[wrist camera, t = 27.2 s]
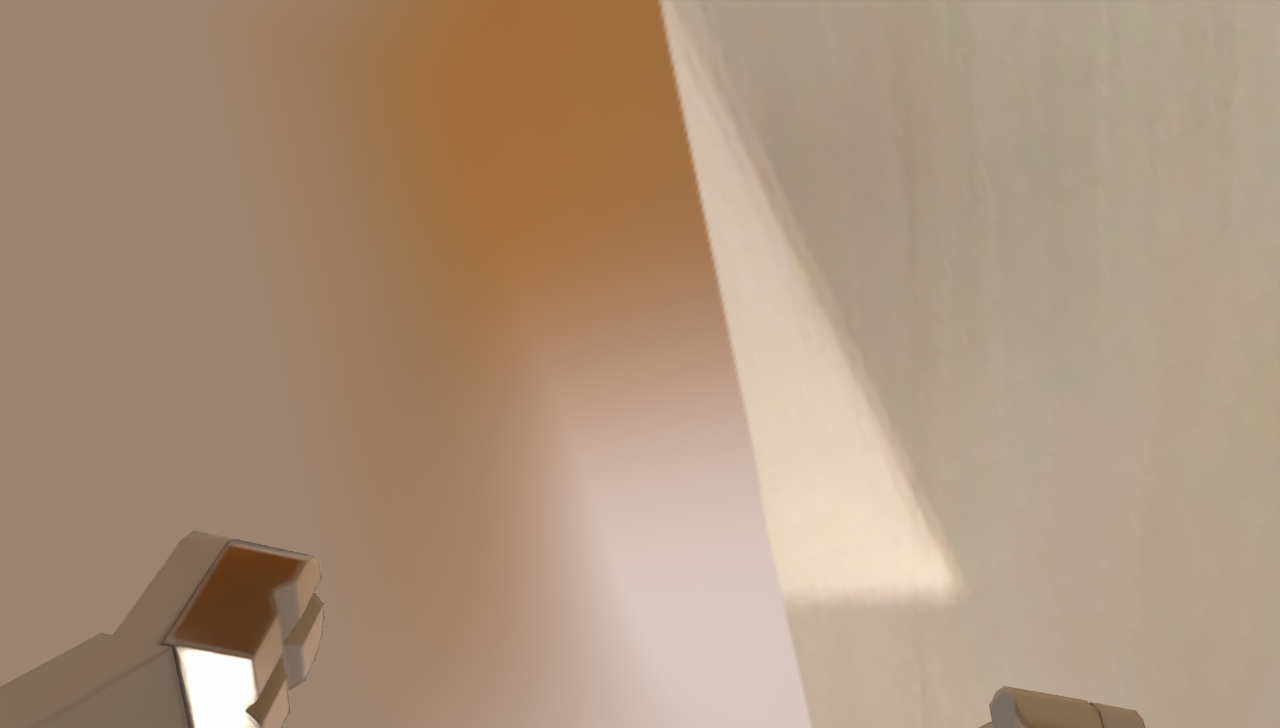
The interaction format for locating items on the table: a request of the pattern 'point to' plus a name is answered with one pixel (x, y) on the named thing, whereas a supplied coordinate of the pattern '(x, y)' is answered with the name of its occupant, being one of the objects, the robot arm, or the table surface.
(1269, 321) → the table surface
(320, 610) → the robot arm
